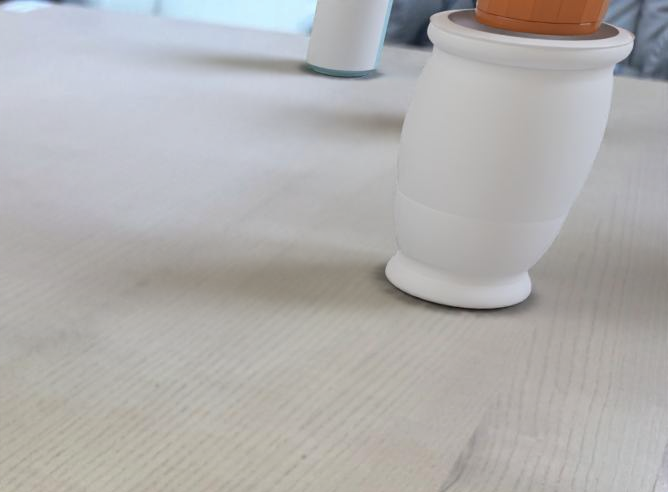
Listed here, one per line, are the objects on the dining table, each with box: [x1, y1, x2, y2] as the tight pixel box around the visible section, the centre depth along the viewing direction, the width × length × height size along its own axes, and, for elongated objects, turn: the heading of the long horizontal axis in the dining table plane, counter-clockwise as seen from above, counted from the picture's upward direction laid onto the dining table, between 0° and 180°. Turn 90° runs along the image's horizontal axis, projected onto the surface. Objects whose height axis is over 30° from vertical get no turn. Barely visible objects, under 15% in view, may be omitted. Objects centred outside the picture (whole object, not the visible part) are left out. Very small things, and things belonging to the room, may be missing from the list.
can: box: [305, 0, 394, 78], centre depth 118 cm, size 7×7×12 cm
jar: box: [384, 8, 636, 309], centre depth 70 cm, size 11×10×15 cm
